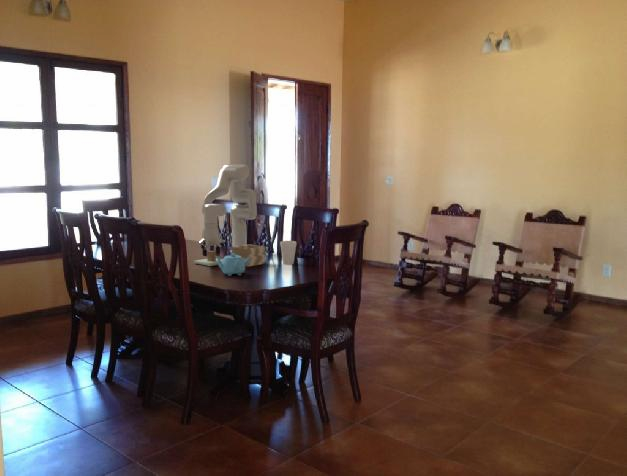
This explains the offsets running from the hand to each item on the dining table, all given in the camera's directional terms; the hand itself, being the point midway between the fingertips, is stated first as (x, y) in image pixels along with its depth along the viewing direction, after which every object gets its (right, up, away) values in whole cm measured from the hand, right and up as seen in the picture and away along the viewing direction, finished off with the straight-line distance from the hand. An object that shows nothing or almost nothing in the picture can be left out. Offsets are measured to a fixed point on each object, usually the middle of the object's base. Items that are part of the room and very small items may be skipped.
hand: (211, 254), depth 318 cm
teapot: (+17, -10, -29) cm, 36 cm away
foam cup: (+45, -5, +4) cm, 46 cm away
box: (+22, -5, +3) cm, 23 cm away
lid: (0, -6, +1) cm, 6 cm away
